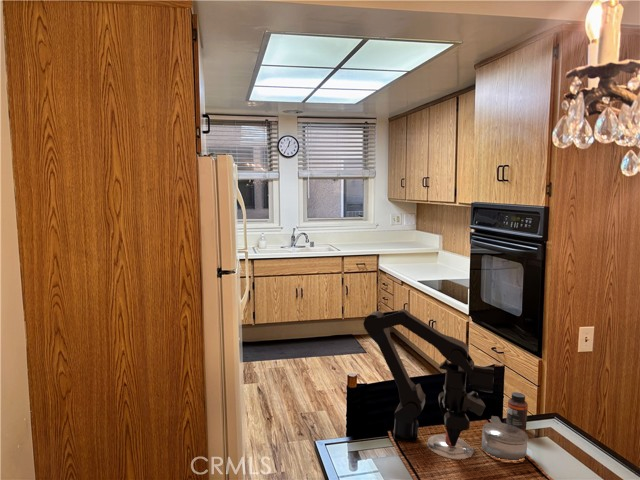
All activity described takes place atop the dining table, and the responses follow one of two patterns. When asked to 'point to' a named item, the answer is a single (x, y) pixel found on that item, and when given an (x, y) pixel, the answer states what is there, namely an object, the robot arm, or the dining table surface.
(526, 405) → the supplement bottle
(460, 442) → the lid
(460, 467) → the dining table surface
